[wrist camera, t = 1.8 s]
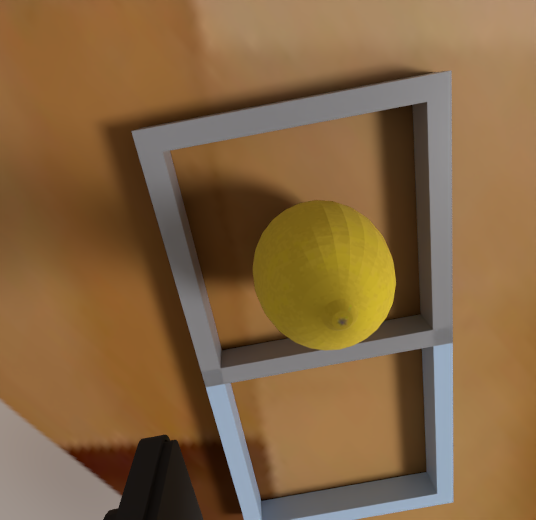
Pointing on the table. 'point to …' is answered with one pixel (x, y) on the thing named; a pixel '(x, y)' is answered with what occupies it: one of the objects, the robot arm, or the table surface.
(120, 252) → the table surface
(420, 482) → the grey divided frame
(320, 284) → the lemon
